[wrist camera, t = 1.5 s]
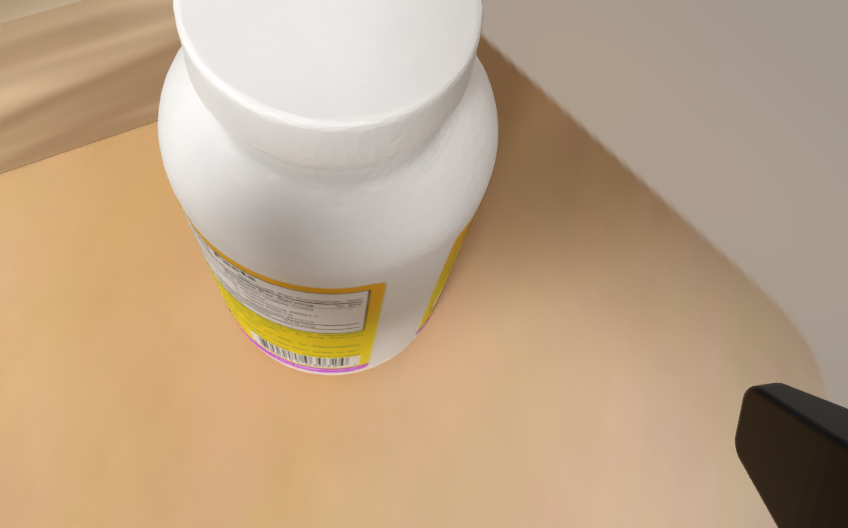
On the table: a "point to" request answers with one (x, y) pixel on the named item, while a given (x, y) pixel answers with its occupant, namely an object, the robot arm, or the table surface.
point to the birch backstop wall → (79, 72)
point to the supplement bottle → (329, 164)
